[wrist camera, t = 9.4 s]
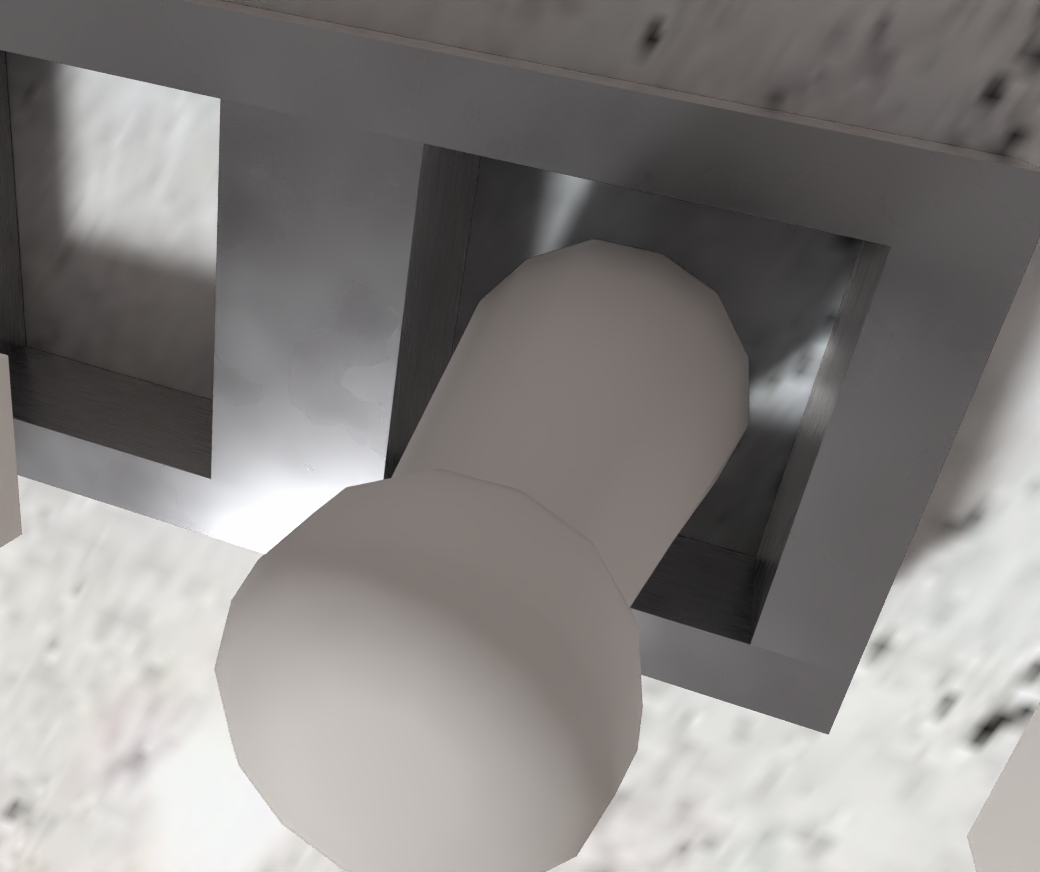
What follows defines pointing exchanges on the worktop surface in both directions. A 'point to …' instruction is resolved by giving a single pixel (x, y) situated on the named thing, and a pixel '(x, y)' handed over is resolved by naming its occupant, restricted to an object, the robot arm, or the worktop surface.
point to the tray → (436, 293)
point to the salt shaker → (490, 579)
